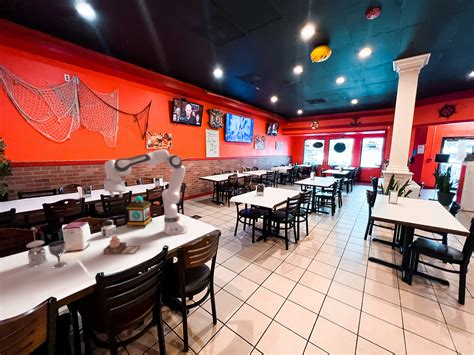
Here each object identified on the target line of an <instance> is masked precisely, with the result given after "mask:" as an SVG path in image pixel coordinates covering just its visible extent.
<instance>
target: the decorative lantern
mask: <svg viewBox="0 0 474 355" xmlns="http://www.w3.org/2000/svg"><path fill="white" fill-rule="evenodd" d="M151 206H152V202H150V201H147V200H145V199H144V198H143V197H142V196H141V195H137V196H136V197H135V198H134V201H133V202H131V203H129V204H128V205H127V206H126V210H127V224H126V227H127V228H130V226H143V228H144V229H145V228H146V225H147V224H148V223H149V222H151V223H152V222H153V218H152V216H151Z"/></svg>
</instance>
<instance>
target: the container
mask: <svg viewBox="0 0 474 355" xmlns="http://www.w3.org/2000/svg"><path fill="white" fill-rule="evenodd" d="M100 231H101V237H105V238H110V237H113V236H115V235H116V234H117V226H116V224H115V225H114V223H113V220H111V219H106V220H104V222H103V227H101V229H100Z"/></svg>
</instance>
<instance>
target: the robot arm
mask: <svg viewBox="0 0 474 355" xmlns="http://www.w3.org/2000/svg"><path fill="white" fill-rule="evenodd" d="M163 162H165V163H166V165H168V166H169V167H171V168H172V173H171V176H170V178H169V181H168V188H166V189H164V190H162V192H161V196H162V201H163V208H164V209H163V210H164V217H163V218H164V219H163V220H164V228H163V230H162V231H163V233H164V234H166V235H167V236H171V235H182V234H184V235H185V234H186V233H187V232H188V231H189V227H188V226H187V225H186V222H185V221H183V220H181V219H180V215H178V206H177V204H178V203H179V201H180V198H181V197H180V194H181V193H180V192H181V187H182V183H183V180H184V178H185V175H186V167H185V166H184V165H183V164H182V159H181V156H179V155H177V154H170V153H169V151H168V150H167V149H165V148H162V149H155V150H154V151H150V152H147V153H144V154H140V155H136V156H132V157H127V158H125V157H124V158H122V157H121V158H118V159H116V160H115V159H109V160H107V161H105V163H104V172H105V174H106V178H105V179H104V180H103V181H104V182H103V189H104V191H105V192H108V193H109V195H110V197H111V198H114V197H115V194H114V193H118V198H123V193H125V192H126V190H127V189H126V184H125V179H123V178H122V177H121V176H127V175H129V174H130V173H131V172H132V169H133V168H132V167H133V166H136V165H141V164H147V165H150V166H154V165H158V164H161V163H163Z"/></svg>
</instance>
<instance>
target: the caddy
mask: <svg viewBox="0 0 474 355" xmlns="http://www.w3.org/2000/svg"><path fill="white" fill-rule="evenodd" d="M141 247H142V245H127V242H125V241H122V242H121V241H120V247H119V248H118V249H110V243H109V244H108V245H107V246H106V247H105V248H103V254H102V255H103V256H106V255H107V256H108V255H109V256H112V255H115V256H117V255H136V253H137V252H138V251H139V250H140V249H141Z"/></svg>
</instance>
